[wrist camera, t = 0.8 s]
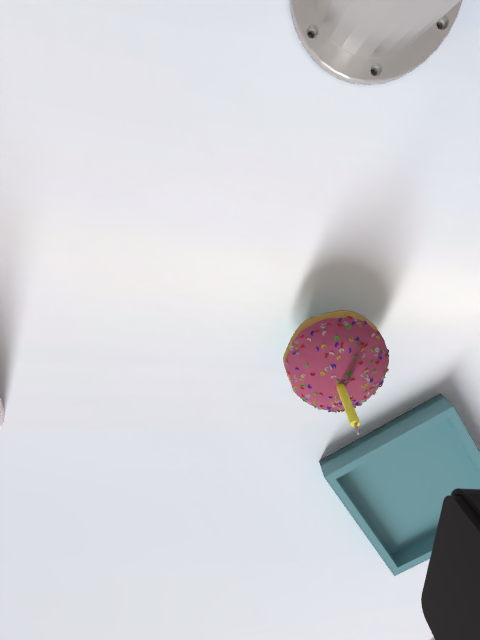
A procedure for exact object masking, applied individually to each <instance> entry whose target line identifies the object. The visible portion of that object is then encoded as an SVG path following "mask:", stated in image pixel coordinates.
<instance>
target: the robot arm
mask: <svg viewBox="0 0 480 640" xmlns="http://www.w3.org/2000/svg"><path fill="white" fill-rule="evenodd" d="M461 3H462V0H290V10H291V16H292V19H293V23H294V26H295V30H296V32H297V35H298V37H299V39H300V41H301V43H302V45H303V47H304V48H305V50H306V51H307V52H308V54H309V55H310V57H311V58H312V59H313V60H314V61H315V62H316V63H317V64H318V65H319V66H320V67H321V68H322V69H323V70H325V71H326V72H328V73H329V74H331V75H333V76H334V77H336V78H338V79H340V80H344V81H347V82H350V83H353V84H363V85H373V84H381V83H386V82H389V81H392V80H395V79H398V78H400V77H402V76H403V75H405V74H407V73H409V72H411V71H412V70H414V69H415V68H416V67H418V66H419V65H420V64H422V63H423V62H424V61H426V60H427V59H428V58H429V57H430V56H431V55H432V54H433V53H434V52H435V51H436V50H437V49H438V47H439V46H440V45H441V43H442V42H443V40H444V39H445V38H446V36H447V35H448V33H449V32H450V30H451V28H452V26H453V24H454V22H455V20H456V18H457V15H458V12H459V9H460V6H461ZM437 24H438V25H439V26H440V29H439V28H438V27H437ZM308 33H312V34H313V36H314V37H313V38H309V37H308V35H307V34H308ZM371 70H374V71H375V76H373V75H372V74H371ZM421 601H422V609H423V613H424V616H425V619H426V621H427V623H428V625H429V627H430V629H431V631H432V634H433V636H434V638H435V640H480V489H461V488H457V489H454V490H453V491H452V493H451V496H450V495H449V496H446V497H445V498H444V501H443V505H442V509H441V513H440V518H439V522H438V527H437V531H436V535H435V540H434V544H433V548H432V553H431V557H430V562H429V566H428V570H427V575H426V579H425V583H424V588H423V592H422V598H421Z"/></svg>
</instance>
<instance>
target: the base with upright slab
mask: <svg viewBox="0 0 480 640" xmlns="http://www.w3.org/2000/svg"><path fill="white" fill-rule="evenodd" d="M3 422H4V408H3V404H2V400H1V398H0V430H1V428H2V425H3Z"/></svg>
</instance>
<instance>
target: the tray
mask: <svg viewBox="0 0 480 640" xmlns="http://www.w3.org/2000/svg"><path fill="white" fill-rule="evenodd" d="M319 462H320V465H321V468H322V472H323V475H324V477H325V479H326V480H327V482H328V483H329V485H330V486H331V487H332V489H333V490H334V492H335V493H336V494H337V496H338V497H339V499H340V500H341V501H342V503H343V504H344V506H345V507H346V508H347V510H348V511H349V513H350V514H351V516H352V517H353V518H354V520H355V521H356V523H357V524H358V525H359V527H360V528H361V530H362V531H363V532H364V534H365V535H366V537H367V538H368V539H369V541H370V542H371V544H372V545H373V547H374V548H375V549H376V551H377V552H378V554H379V555H380V556H381V558H382V559H383V561H384V562H385V563H386V565H387V566H388V568H389V569H390V570H391V572H392V573H393V575H394V576H396V575H398V574H400V573H402V572H404V571H406V570H408V569H410V568H412V567H414V566H416V565H418V564H420V563H422V562H424V561H426V560H428V559H430V557H431V553H432V548H433V544H434V540H435V535H436V531H437V527H438V522H439V518H440V513H441V509H442V505H443V501H444V498H445V497H446V496H449V495H450V496H451V493H452V491H453V490H454V489H457V488H461V489H480V452H479V450H478V449H477V447H476V445H475V443H474V441H473V440H472V438H471V436H470V434H469V433H468V431H467V429H466V427H465V426H464V424H463V422H462V420H461V419H460V417H459V415H458V413H457V412H456V410H455V408H454V406H453V405H452V404H450V403H449V402H448V401H447V400H446V399H445V398H444V397H443V396H442V395H441V394H439V395H437V396H435V397H434V398H432V399H430V400H428V401H426V402H425V403H423V404H421V405H419V406H418V407H416V408H414V409H412V410H410V411H409V412H407V413H405V414H403V415H401V416H400V417H398V418H396V419H394V420H392V421H391V422H389V423H387V424H385V425H383V426H382V427H380V428H378V429H376V430H374V431H373V432H371V433H369V434H367V435H366V436H364V437H362V438H360V439H358V440H357V441H355V442H353V443H351V444H349V445H348V446H346V447H344V448H342V449H340V450H339V451H337V452H335V453H333V454H331V455H330V456H328V457H326V458H324V459H322V460H321V461H319Z"/></svg>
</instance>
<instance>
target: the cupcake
mask: <svg viewBox="0 0 480 640" xmlns="http://www.w3.org/2000/svg"><path fill="white" fill-rule="evenodd" d="M387 350H388V349H387V348H386V345H385V342H384V339H383V337H382V336H381V334H380V332H379V331H378V330H377V328H376V327H375V326H374V325H373V324H372V323H371V322H370V321H368V320H367V319H366V318H364V317H363V316H361V315H360V314H358V313H355V312H352V311H334V312H329V313H326V314H323V315H320V316H316V317H311V318H309V319H307V320H306V321H304V322H303V323H302V324H301V325H300V326H299V327H298V328H297V330H296V331H295V333H294V334H293V336H292V338H291V340H290V342H289V344H288V347H287V349H286V352H285V354H284V357H283V362H284V366H285V369H286V373H287V376H288V378H289V380H290V382H291V384H292V388H293V391H294V392H295V393H296V394H297V395H298V396H299V397H300V398H301V399H302V400H303V401H305V402H307V403H308V404H310V405H312V406H314V407H315V408H316V407H317V408H318V409H324V410H329V411H328V412H336V411H338V412H340V411H341V412H344V411H345V412H346V414H347V417H348V420H349V422H350V425H351V426H352V427H354V428H355V430H356V433H357V435H359V434H360V433H359V429H358V426H359V425H360V421H359V419H358V416H357V414H356V412H355V409H354V408H356V406H361V405H362V403H363V402H365V401H366V400H367V399H368V398H370V397H371V395H372V394H373V395H375V393H376V390H377V389H378V387H381V386H382V384H383V379H384V378H385V374H386V372H388V370H389V369H387V367H388V363H389V354H388V353H389V350H388V351H387ZM380 384H381V386H379V385H380ZM360 404H361V405H360ZM342 410H343V411H342Z"/></svg>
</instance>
